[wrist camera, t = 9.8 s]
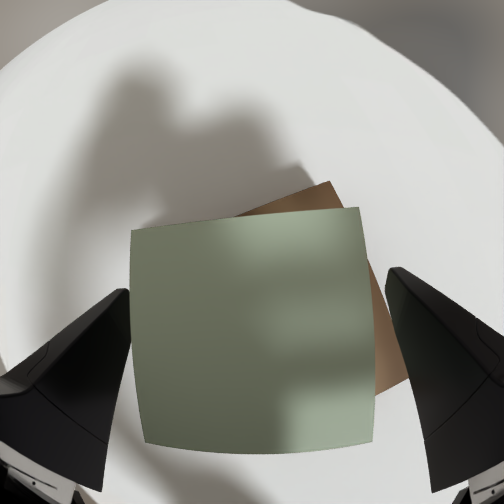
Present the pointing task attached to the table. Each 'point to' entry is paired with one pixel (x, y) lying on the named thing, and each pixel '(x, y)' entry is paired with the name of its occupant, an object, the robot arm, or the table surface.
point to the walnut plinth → (386, 345)
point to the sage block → (254, 333)
